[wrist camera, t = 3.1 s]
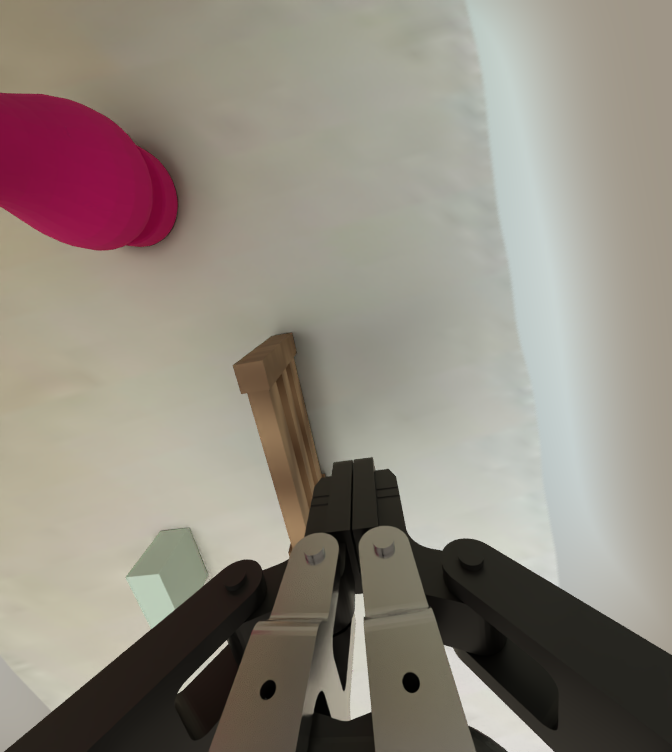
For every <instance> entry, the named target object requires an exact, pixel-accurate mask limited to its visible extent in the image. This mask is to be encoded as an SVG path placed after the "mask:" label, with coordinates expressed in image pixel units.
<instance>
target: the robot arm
mask: <svg viewBox="0 0 672 752" xmlns="http://www.w3.org/2000/svg"><path fill="white" fill-rule="evenodd" d="M361 593H363V597H364V607H365V617H364V633H365V644H366V655H367V666H368V677H369V688H370V699H371V710H372V712H370V713H368V714H365V715H363V716H360V717H358V718H355V719H353V720H351V717H350V692H351V679H352V665H353V652H354V639H355V626H356V619H355V614H354V610H355V594H361ZM226 640H227V641H228V645H227V646H226V647H225V648H224V649H223V650H222V651H221V652H220V653H219V654H218V655H217V656H216V657H215V658H214V659H213V660H212V661H211V662H210V663H209V664H208V665H207V666H206V667H205V669H204V670H203V671H202V672H201V673H200V674H199V675H198V676H197V677H196V678H195V679H194V680H193V681H192V682H191V683H190V684H189V685H188V686H187V687H186V688H185V689H184V690H183V691H181V692H180V693H178V691H179V689H180V688H181V686H182V685H183V684H184V682H185V681H186V680H187V679H188V678H189V677H190V676H191V675H192V674H193V673H194V672H195V671H196V670H197V669H198V668H199V667H200V666H201V665H202V664H203V663H204V662H205V661H206V660H207V659H208V658H209V657H210V656H211V655H212V654H213V653H214V652H215V651H216V650H217V649H218V648H219V647H220V646H221V645H222V644H223V643H224V642H225V641H226ZM444 645H446V646H450V647H453V649H454V651H455V653H456V654H457V656H458V657H459V658H460V659H461V660H462V661H463V662H464V663H465V664H466V665H467V666H468V667H469V668H470V669H471V670H472V671H473V672H474V673H475V674H476V675H477V676H478V677H479V678H480V679H481V680H482V681H483V682H484V683H485V684H486V685H487V686H488V687H489V688H490V689H491V690H492V691H493V692H494V693H495V694H496V695H497V696H498V697H499V698H500V699H501V700H502V701H503V702H504V703H505V704H506V705H507V706H508V707H509V708H510V709H511V710H512V711H513V712H514V713H516V714H517V715H518V716H519V717H520V718H521V719H522V720H523V721H524V722H525V723H526V724H527V725H528V726H529V727H530V728H531V729H532V730H533V731H534V732H535V733H536V734H537V735H538V736H539V737H540V738H541V739H542V740H543V741H544V742H545V743H546V744H547V745H548V746H549V747H550V748H551V749H552V750H553V751H554V752H672V655H671V654H669V653H667V652H666V651H664V650H662V649H661V648H659V647H657V646H656V645H654V644H652V643H650V642H649V641H647V640H646V639H644V638H642V637H640V636H639V635H637V634H635V633H634V632H632V631H630V630H629V629H627V628H626V627H624V626H622V625H621V624H619V623H617V622H615V621H614V620H612V619H611V618H609V617H607V616H606V615H604V614H602V613H601V612H599V611H597V610H595V609H594V608H592V607H591V606H589V605H587V604H586V603H584V602H582V601H581V600H579V599H577V598H575V597H574V596H572V595H571V594H569V593H567V592H566V591H564V590H562V589H561V588H559V587H557V586H556V585H554V584H552V583H551V582H549V581H547V580H546V579H544V578H542V577H541V576H539V575H537V574H536V573H534V572H532V571H531V570H529V569H527V568H526V567H524V566H522V565H521V564H519V563H517V562H516V561H514V560H512V559H511V558H509V557H507V556H506V555H504V554H502V553H501V552H499V551H497V550H496V549H494V548H492V547H491V546H489V545H487V544H485V543H483V542H481V541H478V540H474V539H458V540H454V541H452V542H450V543H449V544H447V545H446V546H445V548H444V549H443V551H441V550H435V549H430V548H426V547H424V546H421V545H419V544H418V543H416V542H415V541H414V540H413V539H412V538H411V537H410V536H409V535H408V533H407V530H406V526H405V521H404V516H403V511H402V505H401V500H400V495H399V490H398V485H397V480H396V476H395V475H394V474H393V473H392V472H391V471H390V470H389V469H384V470H376V471H375V466H374V461H373V457H371V458H363V459H355V460H354V463H353V460H348V461H341V462H334V463H333V469H332V476H330V477H322V478H321V479H320V480H319V481H318V483H317V484H316V485H315V487H314V491H313V496H312V500H311V507H310V510H309V515H308V520H307V525H306V530H305V535H304V538H302V539H301V540H300V541H299V542H298V543H297V544H296V545H295V546H294V548H293V549H292V552H291V554H290V557H289V559H288V560H286V561H285V562H283V563H280V564H278V565H276V566H273V567H270V568H268V569H265V570H263V571H262V568H261V566H260V565H259V564H258V563H257V562H256V561H253V560H240V561H237V562H235V563H232V564H231V565H229V566H227V567H226V568H225V569H223V570H222V571H221V572H220V573H218V574H217V575H216V576H215V577H214V578H212V579H211V580H210V581H209V582H208V583H206V584H205V585H204V586H203V587H202V588H200V589H199V590H198V591H197V592H196V593H194V594H193V595H192V596H191V597H190V598H188V599H187V600H186V601H185V602H184V603H182V604H181V605H180V606H179V607H178V608H176V609H175V610H174V611H173V612H171V613H170V614H169V615H168V616H167V617H165V618H164V619H163V620H162V621H161V622H159V623H158V624H157V625H156V626H155V627H153V628H152V629H151V630H150V631H149V632H147V633H146V634H145V635H144V636H143V637H141V638H140V639H139V640H138V641H137V642H135V643H134V644H133V645H132V646H131V647H129V648H128V649H127V650H126V651H125V652H123V653H122V654H121V655H120V656H119V657H117V658H116V659H115V660H114V661H113V662H111V663H110V664H109V665H108V666H107V667H105V668H104V669H103V670H102V671H101V672H99V673H98V674H97V675H96V676H95V677H93V678H92V679H91V680H90V681H88V682H87V683H86V684H85V685H84V686H82V687H81V688H80V689H79V690H78V691H76V692H75V693H74V694H73V695H72V696H70V697H69V698H68V699H67V700H66V701H64V702H63V703H62V704H61V705H60V706H58V707H57V708H56V709H55V710H54V711H52V712H51V713H50V714H49V715H48V716H46V717H45V718H44V719H43V720H42V721H40V722H39V723H38V724H37V725H36V726H34V727H33V728H32V729H31V730H30V731H28V732H27V733H26V734H25V735H24V736H23V737H21V738H20V739H19V740H18V741H16V742H15V743H14V744H13V745H12V746H10V747H9V748H8V749H7V750H6V751H4V752H507V751H506V750H505V749H504V748H503V747H501V746H500V745H499V744H498V743H496V742H495V741H494V740H492V739H491V738H490V737H488V736H486V735H485V734H483V733H481V732H480V731H478V730H477V729H474V728H472V727H470V726H468V724H467V720H466V717H465V714H464V711H463V707H462V704H461V701H460V697H459V694H458V691H457V688H456V684H455V681H454V678H453V675H452V671H451V668H450V665H449V662H448V658H447V655H446V652H445V648H444ZM177 693H178V694H177Z"/></svg>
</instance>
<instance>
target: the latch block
mask: <svg viewBox="0 0 672 752" xmlns="http://www.w3.org/2000/svg"><path fill="white" fill-rule="evenodd" d="M207 576H208V574H207V571H206V569H205V566H204V564H203V561H202V559H201V556H200V554H199V551H198V549H197V546H196V544H195V541H194V539H193V536H192V534H191V531H190V529H189V528H183V529H174V530H166V531H160V532H159V534H158V535H157V536H156V538H155V539H154V540H153V542H152V543H151V544H150V546H149V547H148V548H147V550H146V551H145V552H144V554H143V555H142V556H141V558H140V559H139V560H138V561H137V563H136V564H135V565H134V567H133V568H132V569H131V571H130V572H129V573H128V575H127V576H126V579H127V581H128V583H129V585H130V587H131V589H132V591H133V593H134V596H135V598H136V600H137V602H138V604H139V606H140V608H141V610H142V612H143V614H144V616H145V618H146V620H147V622H148V624H149V626H150V628H151V629H152V628H153V627H155V626H156V625H157V624H158V623H159V622H161V621H162V620H163V619H164V618H165V617H167V616H168V615H169V614H170V613H171V612H173V611H174V610H175V609H176V608H178V607H179V606H180V605H181V604H182V603H184V602H185V601H186V600H187V599H188V598H190V597H191V596H192V595H193V594H194V593H196V592H197V591H198V590H199V589H200V588H202V587H203V584H204V582H205V580H206V578H207Z"/></svg>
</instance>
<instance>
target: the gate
mask: <svg viewBox="0 0 672 752" xmlns="http://www.w3.org/2000/svg"><path fill="white" fill-rule="evenodd" d="M296 353H297V352H296V348H295V343H294V339H293V335H292V333H286V334H281V335H276V336H271V337H270V338H268V339H267V340H266V341H264V342H263V343H262V344H261V345H259V346H258V347H257V348H255V349H254V350H253V351H251V352H250V353H249V354H247V355H246V356H245V357H243V358H242V359H241V360H239V361H238V362H237V363H235V364H234V365H233V368H234V371H235V375H236V378H237V381H238V385H239V388H240V391H241V394H244V393H247V394H248V398H249V401H250V405H251V408H252V411H253V415H254V418H255V422H256V425H257V429H258V432H259V436H260V439H261V442H262V446H263V449H264V453H265V456H266V460H267V463H268V466H269V470H270V473H271V477H272V480H273V484H274V487H275V490H276V494H277V497H278V501H279V504H280V508H281V511H282V515H283V518H284V521H285V525H286V528H287V532H288V535H289V539H290V542H291V544H290V548H289V552H288V553H289V556H290V554H291V552H292V549H293V548H294V546H295V545H296V544H297V543H298V542H299V541H300V540H301V539H302V538H304V535H305V530H306V525H307V520H308V515H309V510H310V507H311V500H312V496H313V491H314V487H315V485H316V484H317V483H318V481H319V480H320V479H321V478H322V477H326V476H325V474H321V471H320V467H319V462H318V458H317V454H316V450H315V446H314V441H313V437H312V433H311V429H310V424H309V420H308V416H307V412H306V408H305V403H304V399H303V395H302V391H301V387H300V382H299V378H298V374H297V370H296V366H295V361H294V356H295V355H296Z"/></svg>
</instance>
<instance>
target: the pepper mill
mask: <svg viewBox="0 0 672 752" xmlns="http://www.w3.org/2000/svg"><path fill="white" fill-rule="evenodd" d="M0 207H2V208H4V209H5V210H7V211H8V212H10V213H11V214H13V215H14V216H16V217H18V218H19V219H21V220H22V221H24V222H25V223H27V224H28V225H30V226H31V227H33V228H34V229H36V230H38V231H39V232H41V233H43V234H45V235H47V236H49V237H52V238H54V239H56V240H58V241H60V242H63V243H66V244H69V245H72V246H76V247H81V248H86V249H92V250H113V249H116V248H120V247H123V246H125V245H128V246H136V247H144V246H151V245H154V244H156V243H158V242H159V241H161V240H162V239H164V238H165V237H166V236H167V235H168V233H169V232H170V231H171V229H172V227H173V225H174V223H175V220H176V215H177V207H178V203H177V195H176V190H175V187H174V184H173V181H172V179H171V177H170V175H169V174H168V172H167V170H166V169H165V167H164V166H163V165H162V164H161V162H160V161H159V160H158V159H157V158H155V157H154V156H153V155H152V154H150V153H149V152H147V151H146V150H144V149H142V148H140V147H139V146H137V145H135V143H134V142H133V141H132V140H131V138H130V137H129V136H128V135H127V134H126V133H125V132H124V131H123V130H122V129H121V128H120V127H119V126H118V125H117V124H116V123H114V122H113V121H112V120H110V119H109V118H108V117H106V116H104V115H102V114H100V113H99V112H97V111H95V110H93V109H91V108H89V107H87V106H85V105H82V104H80V103H77V102H74V101H72V100H68V99H64V98H59V97H54V96H49V95H44V94H11V93H0Z"/></svg>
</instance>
